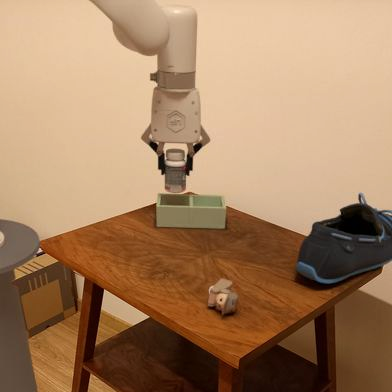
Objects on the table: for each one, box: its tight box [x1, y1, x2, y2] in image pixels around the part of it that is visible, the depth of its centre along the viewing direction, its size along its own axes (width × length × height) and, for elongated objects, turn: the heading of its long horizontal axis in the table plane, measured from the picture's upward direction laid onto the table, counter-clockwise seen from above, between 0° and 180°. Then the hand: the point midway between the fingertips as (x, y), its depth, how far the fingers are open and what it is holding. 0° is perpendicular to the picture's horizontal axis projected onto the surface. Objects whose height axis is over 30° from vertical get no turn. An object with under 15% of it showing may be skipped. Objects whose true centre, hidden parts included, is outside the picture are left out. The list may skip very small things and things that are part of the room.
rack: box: [155, 192, 227, 230], centre depth 117 cm, size 15×8×5 cm, turn 91°
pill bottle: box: [164, 148, 187, 194], centre depth 111 cm, size 5×5×8 cm
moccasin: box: [294, 192, 392, 285], centre depth 101 cm, size 14×34×12 cm, turn 142°
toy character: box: [207, 278, 240, 316], centre depth 87 cm, size 4×8×6 cm
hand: (175, 172), depth 112 cm, fingers closed on pill bottle, 4 cm apart
